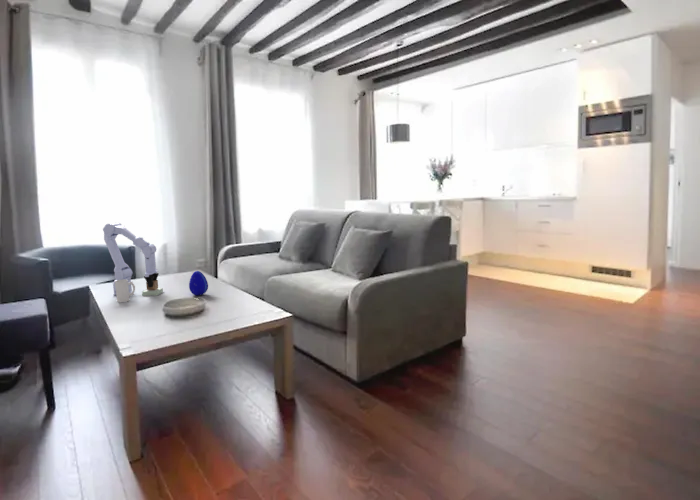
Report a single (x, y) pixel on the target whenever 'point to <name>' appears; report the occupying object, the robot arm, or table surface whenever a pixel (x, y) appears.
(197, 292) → the ornament
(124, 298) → the mug
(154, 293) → the base plate
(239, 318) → the table surface
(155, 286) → the walnut cube
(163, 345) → the table surface
